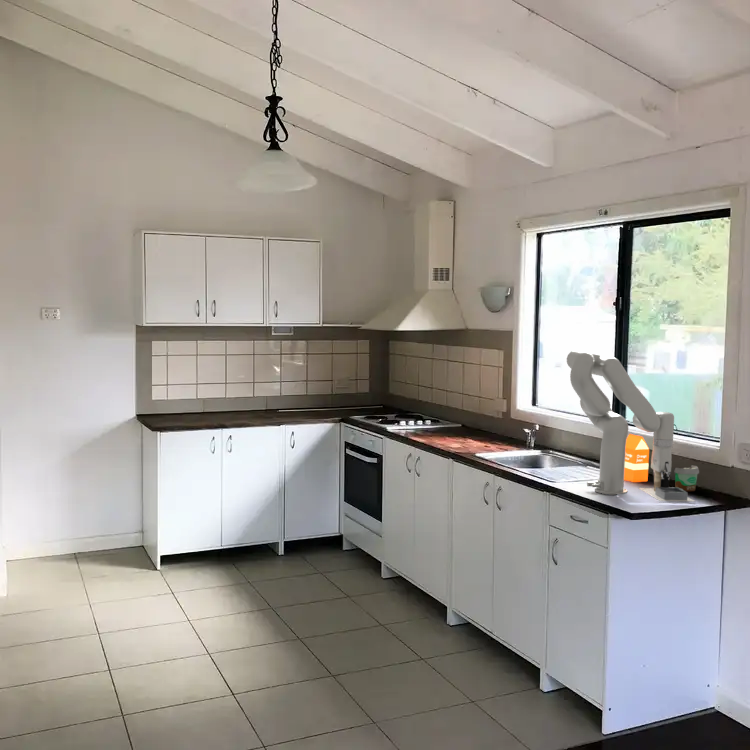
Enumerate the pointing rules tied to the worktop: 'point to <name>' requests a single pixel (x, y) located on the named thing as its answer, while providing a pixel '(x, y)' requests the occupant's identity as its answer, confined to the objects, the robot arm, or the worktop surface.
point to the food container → (686, 478)
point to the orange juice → (636, 459)
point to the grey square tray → (671, 493)
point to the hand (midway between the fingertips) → (660, 486)
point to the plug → (657, 479)
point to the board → (652, 493)
